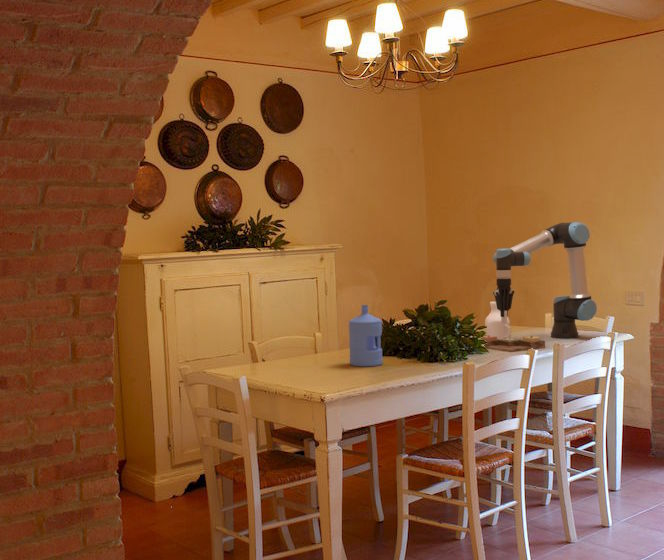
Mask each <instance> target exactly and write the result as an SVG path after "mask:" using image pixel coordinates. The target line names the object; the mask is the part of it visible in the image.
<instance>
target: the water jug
mask: <svg viewBox="0 0 664 560" xmlns="http://www.w3.org/2000/svg"><path fill="white" fill-rule="evenodd" d="M382 324H383V322H382V319H380V318H378V317H376V316H374V315H372V314H370V313H369V305H368V304H363V305H361V313H360V314H359V315H357V316H356V317H354V318H352V319H350V320H349V321H348V330H349V331H348V335H349V339H348V340H349V343H348V345H349V364H350V366H354V367H360V368H361V367H362V368H364V367H366V368H368V367H370V368H371V367H377V366H381V365H383V361H384V358H383V348H382V345H381V343H382V341H381V336H382V334H383V333H382V330H383V325H382Z"/></svg>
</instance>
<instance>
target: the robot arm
mask: <svg viewBox="0 0 664 560" xmlns="http://www.w3.org/2000/svg"><path fill="white" fill-rule="evenodd" d="M589 239H590V230H589V228H588V226H587V225H585V223H583V222H577V221H575V222H574V221H573V222H572V221H571V222H559V223H557V224H554V225H552V226H549V227H546V228H545V229H543V230H542V231H541V232H540V233H539V234H537V235H535V236H533V237H531V238H527V240H525V241H522V242H520V243H518V244H516V245H514V246H512V247H510V248H498V249H496V252H495V253H494V255H493V262H494V264H495V267H496V272H495V274H496V281H495V283H496V286H497V288H496V290H495V291H493V292H492V294H493V296H494V298H495V301H496V305H497V309H498V310H500V311H501V323H507V317H508V316H509V313H508V312H509V311H510V310H511V309H512V304H513V297H514V294H515V290H512V288H511V285H512V267H525V266H529V265H530V263H531V259H532V258H531V254H533V253H534V252H537V251H539V250H541V249H543V248H545V247H552V246H555V245H561V244H563V248H564V250H566V251H567V261H568V271H569V280H570V290H571V292H570V293H571V294H570V295H563V296H555V297H554V298H553V303H552V304H553V325H552V328H551V331H550V337H552V338H556V339H574V338H579V331H578V328H577V325H576V321H581V322H583V321H586V322H587V321H590V320H592V319H594V317H595V315H596V313H597V310H598V307H597V303H596V302H595V301H594V300H593V299H592V294H590V293H589V290H588V280H587V273H586V272H587V271H586V270H587V269H586V260H585V252H584V251H585V250H584V249H585V248H586V247H587V242H588V241H589Z"/></svg>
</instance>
